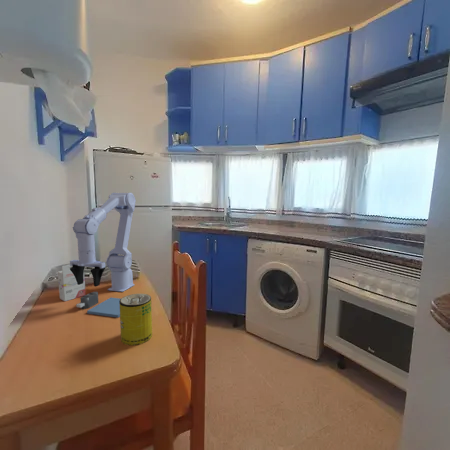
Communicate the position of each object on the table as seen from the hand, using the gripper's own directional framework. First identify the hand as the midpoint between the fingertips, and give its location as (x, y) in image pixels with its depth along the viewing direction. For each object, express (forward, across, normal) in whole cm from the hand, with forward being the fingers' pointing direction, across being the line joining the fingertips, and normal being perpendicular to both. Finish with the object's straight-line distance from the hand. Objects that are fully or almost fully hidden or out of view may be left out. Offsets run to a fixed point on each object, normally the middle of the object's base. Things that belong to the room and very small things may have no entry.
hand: (88, 284), depth 103 cm
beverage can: (+8, +31, -16) cm, 36 cm away
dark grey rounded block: (+8, 0, 0) cm, 8 cm away
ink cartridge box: (+8, -13, +5) cm, 16 cm away
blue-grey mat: (+8, +11, 0) cm, 14 cm away
